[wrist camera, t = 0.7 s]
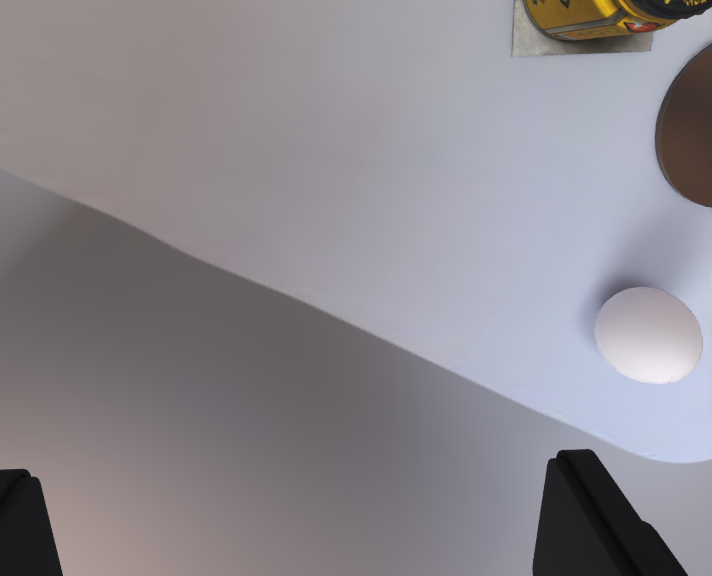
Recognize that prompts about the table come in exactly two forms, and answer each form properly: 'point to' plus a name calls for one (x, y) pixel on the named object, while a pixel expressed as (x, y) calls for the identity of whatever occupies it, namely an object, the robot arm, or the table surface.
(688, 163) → the coaster
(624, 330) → the egg
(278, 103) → the table surface
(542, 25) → the condiment
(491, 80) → the table surface
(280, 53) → the table surface
